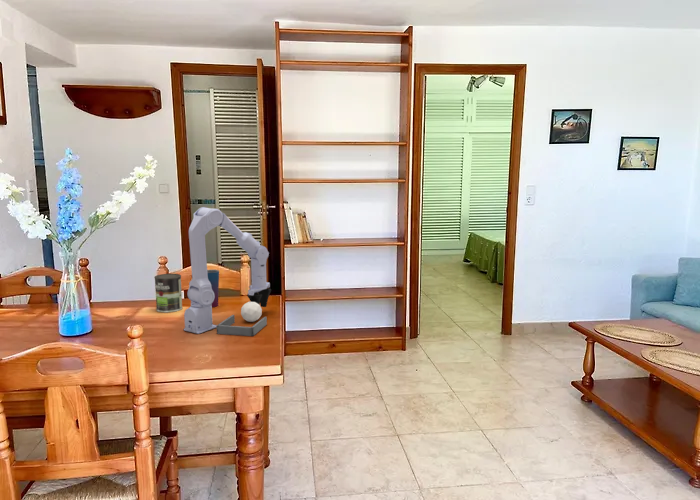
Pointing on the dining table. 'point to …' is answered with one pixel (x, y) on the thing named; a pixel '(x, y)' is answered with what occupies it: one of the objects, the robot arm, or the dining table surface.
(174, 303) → the coffee can
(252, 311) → the geometric ball
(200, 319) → the robot arm
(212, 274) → the cup
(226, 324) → the tray
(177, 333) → the dining table surface
